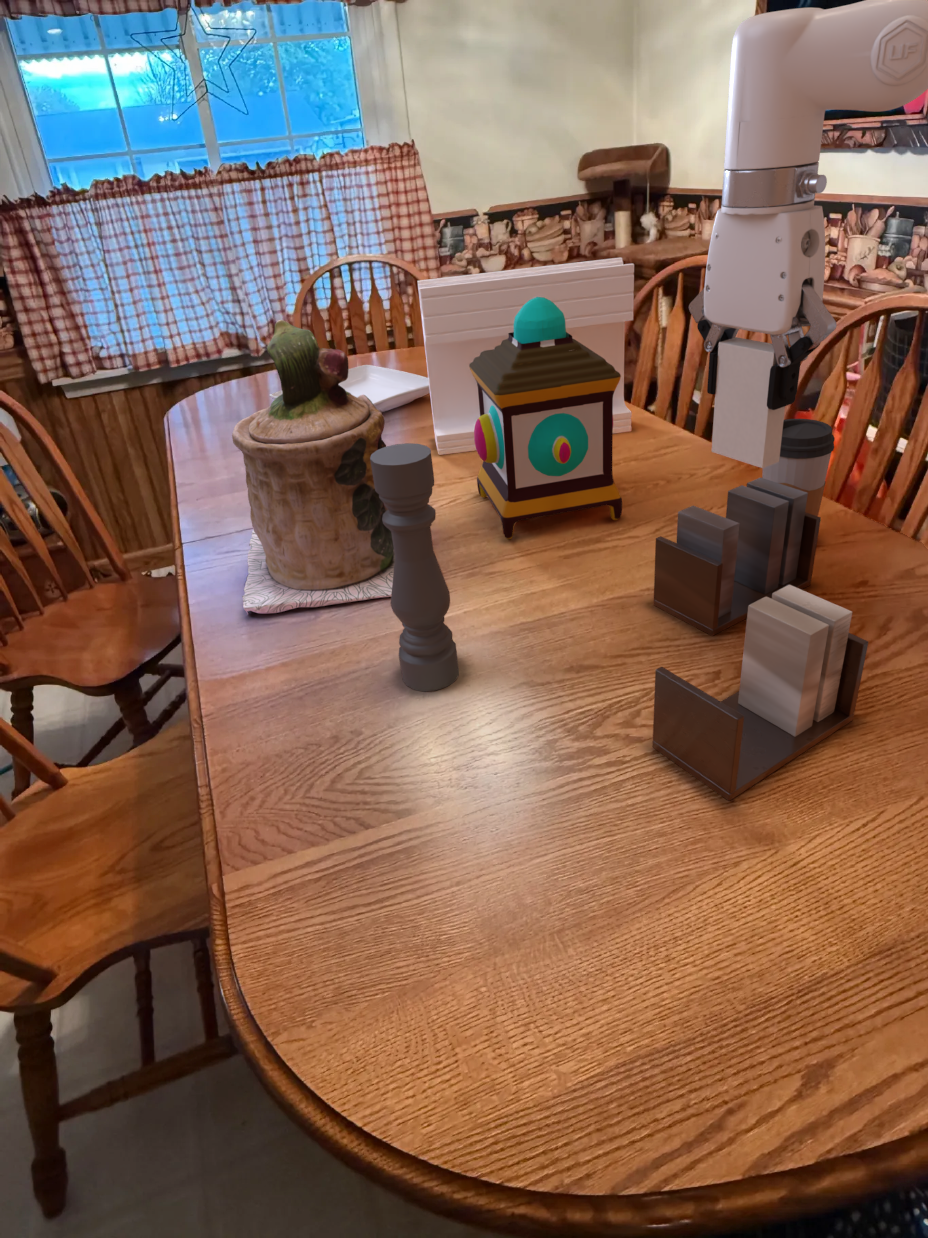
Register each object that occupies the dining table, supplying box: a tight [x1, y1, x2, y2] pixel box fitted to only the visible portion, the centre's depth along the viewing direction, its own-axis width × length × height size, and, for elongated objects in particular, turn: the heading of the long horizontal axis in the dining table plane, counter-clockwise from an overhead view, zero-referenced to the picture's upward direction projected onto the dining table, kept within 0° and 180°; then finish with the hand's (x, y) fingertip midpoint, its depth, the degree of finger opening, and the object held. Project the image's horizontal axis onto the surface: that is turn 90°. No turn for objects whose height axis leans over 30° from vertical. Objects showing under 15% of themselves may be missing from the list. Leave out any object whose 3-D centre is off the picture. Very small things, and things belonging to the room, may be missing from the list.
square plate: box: [268, 364, 430, 414], centre depth 177 cm, size 27×27×4 cm
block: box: [417, 257, 635, 456], centre depth 143 cm, size 35×8×28 cm, turn 96°
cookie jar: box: [231, 319, 395, 615], centre depth 105 cm, size 25×25×32 cm
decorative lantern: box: [469, 297, 623, 540], centre depth 115 cm, size 20×20×30 cm
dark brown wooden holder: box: [652, 477, 821, 637], centre depth 94 cm, size 17×9×12 cm, turn 124°
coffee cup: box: [761, 418, 835, 517], centre depth 104 cm, size 8×8×15 cm
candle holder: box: [370, 442, 460, 692], centre depth 82 cm, size 6×6×25 cm
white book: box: [711, 336, 791, 469], centre depth 79 cm, size 2×6×11 cm, turn 33°
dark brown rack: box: [651, 585, 869, 802], centre depth 73 cm, size 17×9×12 cm, turn 124°
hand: (749, 396), depth 79 cm, fingers closed on white book, 6 cm apart
